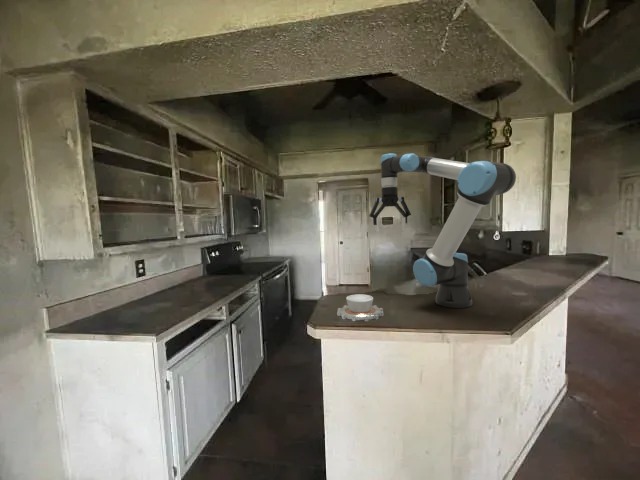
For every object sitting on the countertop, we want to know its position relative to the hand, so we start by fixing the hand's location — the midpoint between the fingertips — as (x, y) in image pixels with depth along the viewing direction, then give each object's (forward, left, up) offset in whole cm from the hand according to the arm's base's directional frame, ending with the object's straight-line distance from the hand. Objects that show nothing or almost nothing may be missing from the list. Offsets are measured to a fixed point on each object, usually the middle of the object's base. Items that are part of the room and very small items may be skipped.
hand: (390, 231), depth 154 cm
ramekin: (+22, +22, -31) cm, 44 cm away
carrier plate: (+22, +22, -33) cm, 45 cm away
